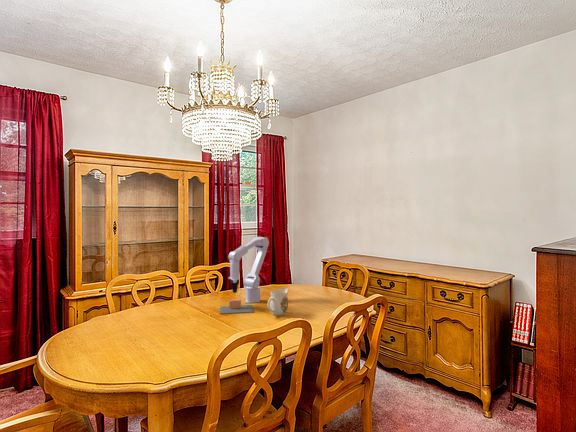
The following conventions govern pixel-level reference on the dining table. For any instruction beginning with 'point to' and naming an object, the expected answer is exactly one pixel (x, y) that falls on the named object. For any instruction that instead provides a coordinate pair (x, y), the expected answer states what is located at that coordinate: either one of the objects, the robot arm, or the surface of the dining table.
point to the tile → (235, 304)
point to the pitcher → (278, 302)
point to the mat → (238, 310)
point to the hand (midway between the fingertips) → (234, 291)
